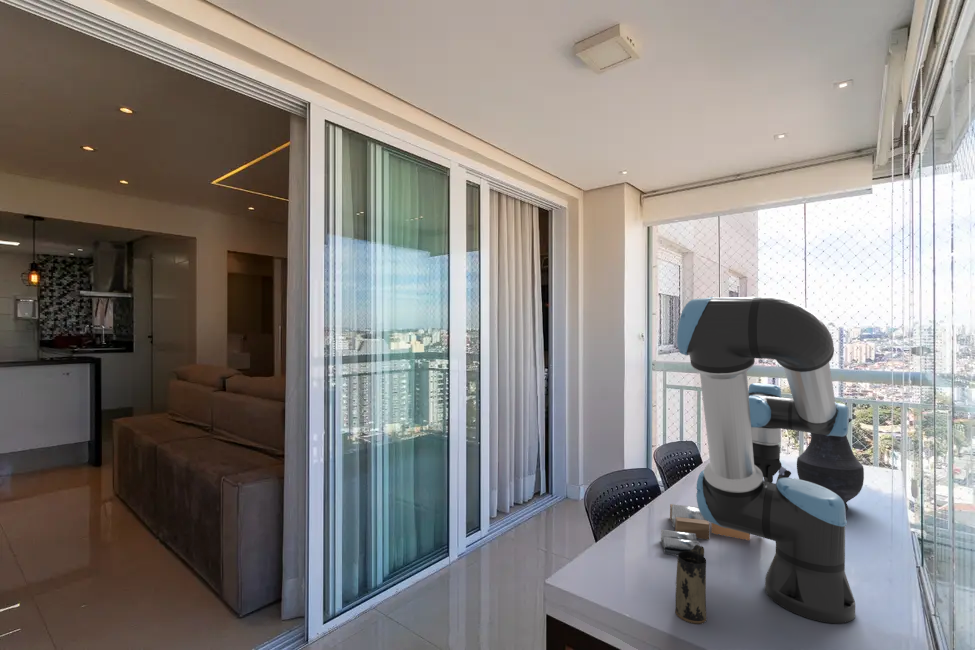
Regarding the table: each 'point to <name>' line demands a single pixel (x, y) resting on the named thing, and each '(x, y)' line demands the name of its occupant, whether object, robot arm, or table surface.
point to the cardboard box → (691, 526)
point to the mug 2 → (691, 586)
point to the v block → (677, 541)
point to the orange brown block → (729, 532)
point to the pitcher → (831, 466)
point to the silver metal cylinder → (685, 512)
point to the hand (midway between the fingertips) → (761, 529)
